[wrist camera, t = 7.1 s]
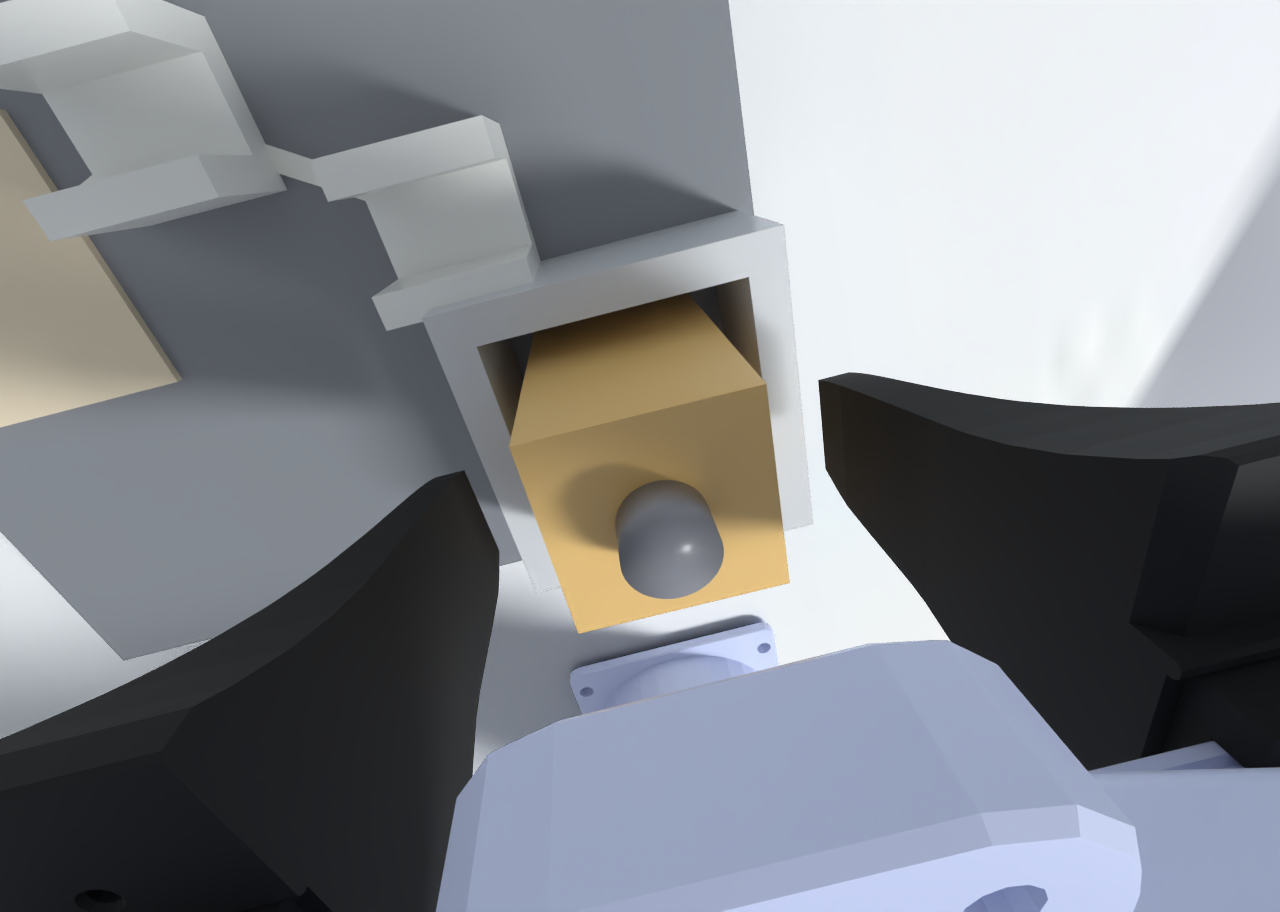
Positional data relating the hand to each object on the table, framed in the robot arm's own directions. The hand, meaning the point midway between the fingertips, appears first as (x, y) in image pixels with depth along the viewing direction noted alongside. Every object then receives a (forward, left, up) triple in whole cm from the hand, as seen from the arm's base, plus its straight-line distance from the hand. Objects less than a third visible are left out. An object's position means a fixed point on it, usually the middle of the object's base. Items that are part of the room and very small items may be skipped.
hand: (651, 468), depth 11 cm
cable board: (+3, +7, -6) cm, 10 cm away
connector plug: (0, 0, -5) cm, 5 cm away
